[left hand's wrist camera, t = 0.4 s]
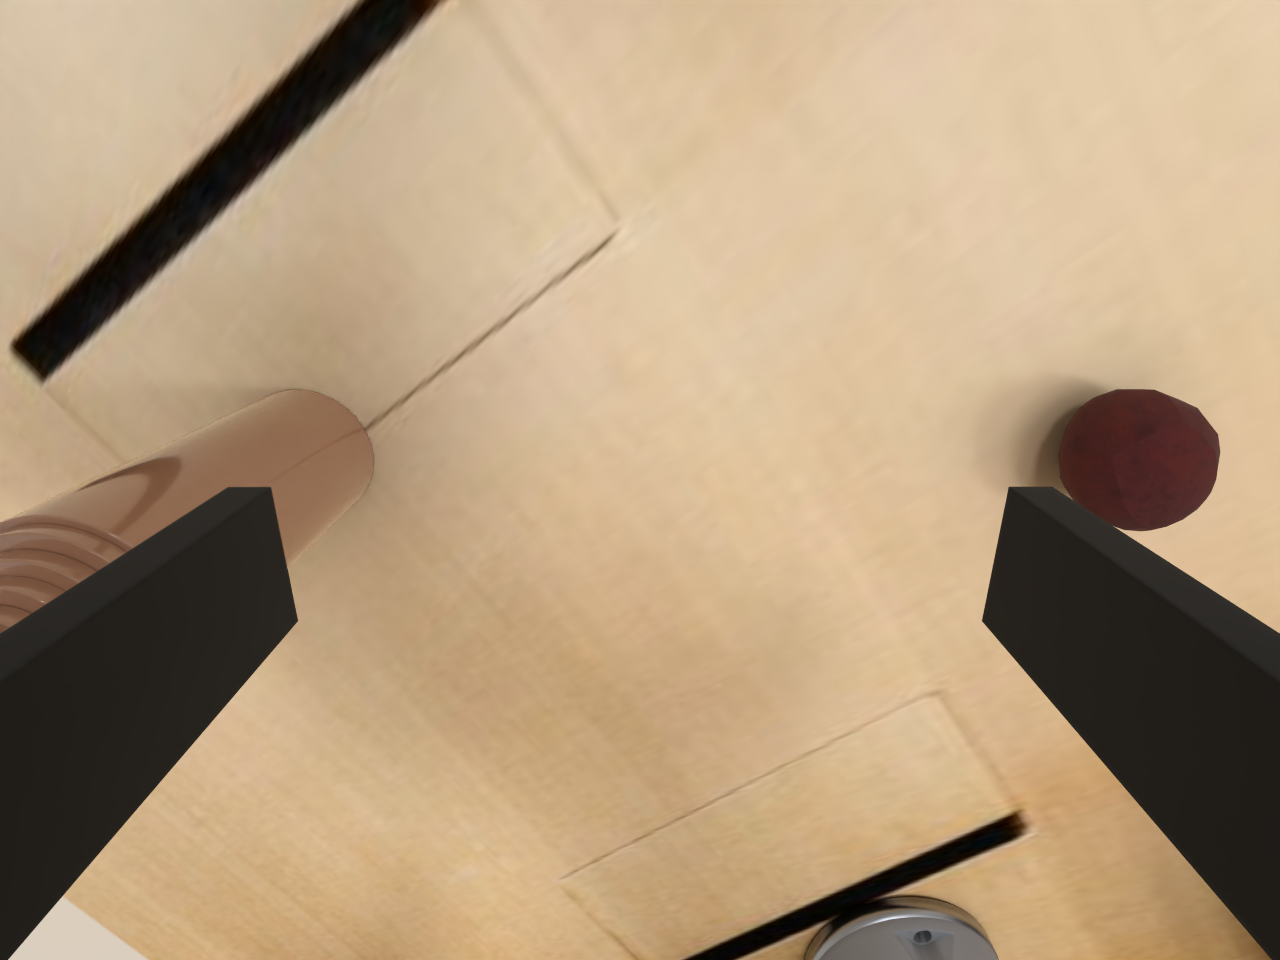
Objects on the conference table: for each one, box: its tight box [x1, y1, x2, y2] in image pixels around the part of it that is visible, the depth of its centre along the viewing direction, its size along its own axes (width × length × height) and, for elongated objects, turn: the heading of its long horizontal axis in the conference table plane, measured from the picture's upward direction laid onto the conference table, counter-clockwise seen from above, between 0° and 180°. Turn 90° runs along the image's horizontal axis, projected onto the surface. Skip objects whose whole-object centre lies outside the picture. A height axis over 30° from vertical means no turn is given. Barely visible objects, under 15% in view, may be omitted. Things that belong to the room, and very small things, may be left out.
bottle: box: [0, 390, 374, 633], centre depth 30 cm, size 8×8×25 cm
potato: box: [1059, 389, 1220, 531], centre depth 38 cm, size 7×8×7 cm
